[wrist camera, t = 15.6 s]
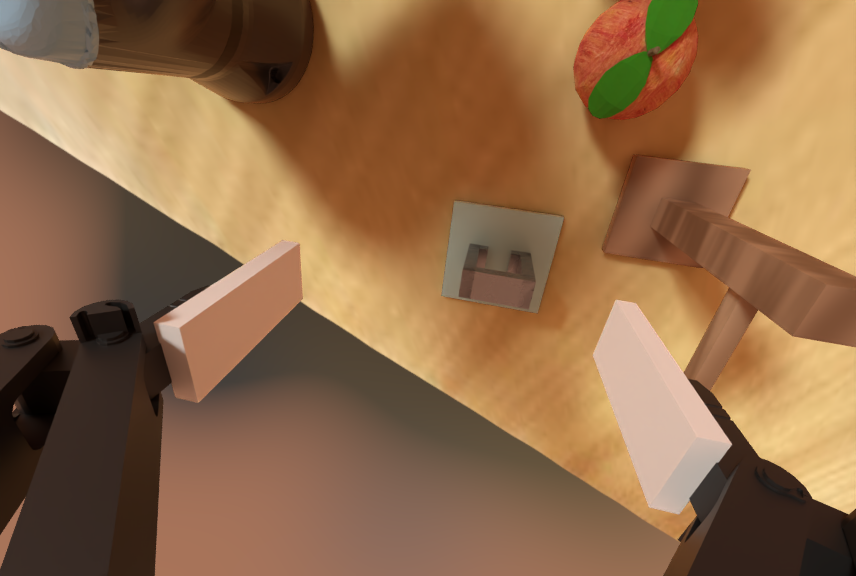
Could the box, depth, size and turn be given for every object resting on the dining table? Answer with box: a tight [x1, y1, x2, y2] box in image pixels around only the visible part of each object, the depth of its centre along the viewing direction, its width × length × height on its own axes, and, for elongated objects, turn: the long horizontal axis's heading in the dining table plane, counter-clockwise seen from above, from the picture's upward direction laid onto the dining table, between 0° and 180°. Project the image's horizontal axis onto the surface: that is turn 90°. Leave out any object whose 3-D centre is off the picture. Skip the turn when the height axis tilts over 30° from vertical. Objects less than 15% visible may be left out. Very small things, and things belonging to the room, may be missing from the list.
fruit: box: [574, 0, 698, 120], centre depth 29 cm, size 9×10×10 cm
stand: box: [602, 155, 856, 391], centre depth 29 cm, size 10×18×22 cm, turn 174°
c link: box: [458, 243, 536, 309], centre depth 39 cm, size 7×3×8 cm, turn 84°
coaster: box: [441, 200, 564, 313], centre depth 43 cm, size 12×12×1 cm
